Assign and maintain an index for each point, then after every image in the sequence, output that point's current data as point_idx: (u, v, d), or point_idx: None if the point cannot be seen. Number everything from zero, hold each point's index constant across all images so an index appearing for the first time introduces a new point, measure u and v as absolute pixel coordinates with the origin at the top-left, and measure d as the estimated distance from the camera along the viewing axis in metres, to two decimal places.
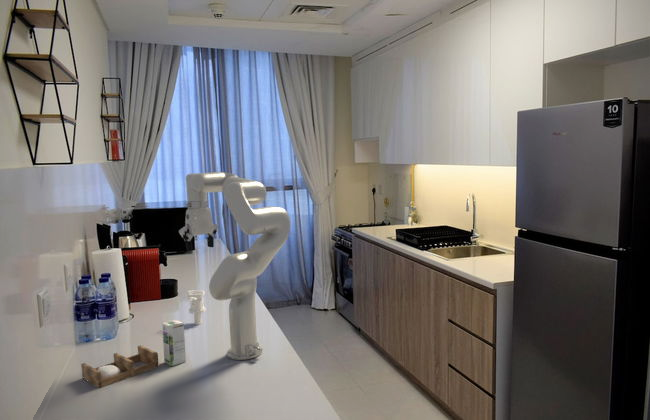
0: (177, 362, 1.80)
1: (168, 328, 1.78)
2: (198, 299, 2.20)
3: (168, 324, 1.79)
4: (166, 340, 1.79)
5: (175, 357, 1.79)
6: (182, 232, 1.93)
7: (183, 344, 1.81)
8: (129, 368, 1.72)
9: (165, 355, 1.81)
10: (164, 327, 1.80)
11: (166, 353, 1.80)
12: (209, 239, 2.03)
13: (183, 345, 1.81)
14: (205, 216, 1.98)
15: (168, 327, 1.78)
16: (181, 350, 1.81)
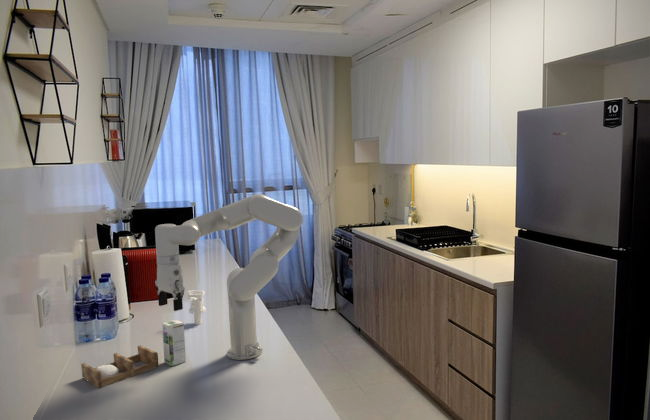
0: (177, 362, 1.80)
1: (168, 328, 1.78)
2: (198, 299, 2.20)
3: (168, 324, 1.79)
4: (166, 340, 1.79)
5: (175, 357, 1.79)
6: None
7: (183, 344, 1.81)
8: (129, 368, 1.72)
9: (165, 355, 1.81)
10: (164, 327, 1.80)
11: (166, 353, 1.80)
12: (163, 296, 1.83)
13: (183, 345, 1.81)
14: None
15: (168, 327, 1.78)
16: (181, 350, 1.81)
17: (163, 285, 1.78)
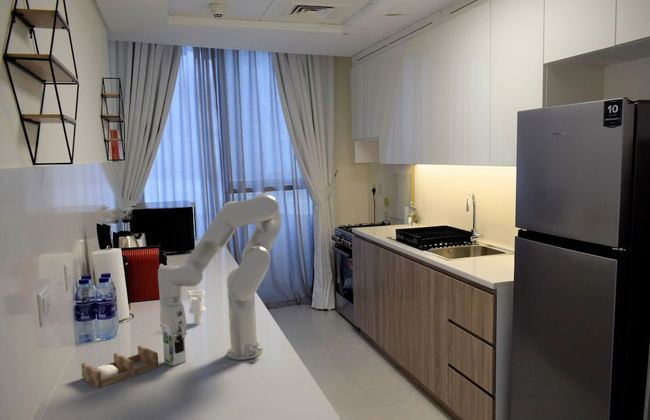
0: (177, 362, 1.80)
1: (168, 328, 1.78)
2: (198, 299, 2.20)
3: None
4: (166, 340, 1.79)
5: (175, 357, 1.79)
6: None
7: None
8: (129, 368, 1.72)
9: (165, 355, 1.81)
10: (164, 327, 1.80)
11: (166, 353, 1.80)
12: None
13: None
14: None
15: (167, 327, 1.78)
16: None
17: None
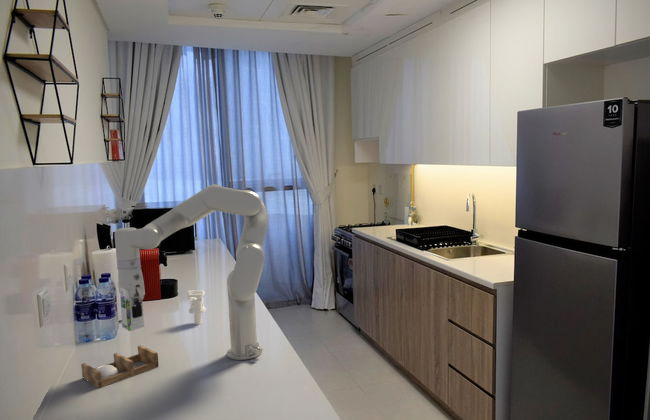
0: (135, 327, 1.75)
1: (125, 292, 1.73)
2: (198, 299, 2.20)
3: None
4: (123, 304, 1.74)
5: (133, 322, 1.74)
6: None
7: None
8: (129, 368, 1.72)
9: (123, 320, 1.76)
10: (121, 291, 1.75)
11: (124, 318, 1.75)
12: None
13: None
14: None
15: (124, 290, 1.73)
16: None
17: None
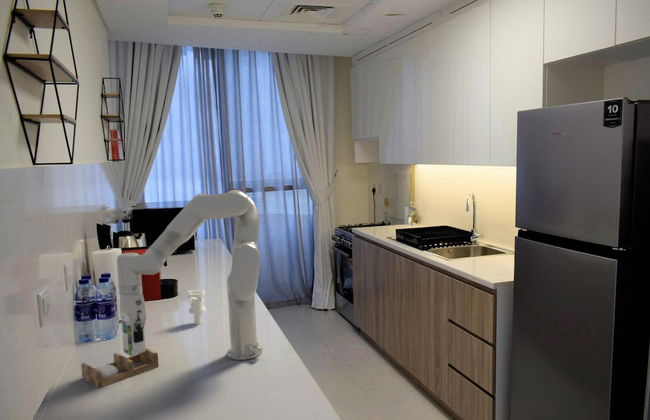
0: (136, 352, 1.76)
1: (126, 317, 1.74)
2: (198, 299, 2.20)
3: None
4: (125, 329, 1.75)
5: (134, 347, 1.75)
6: None
7: None
8: (129, 368, 1.72)
9: (124, 345, 1.77)
10: (123, 316, 1.76)
11: (125, 343, 1.76)
12: None
13: (143, 335, 1.77)
14: None
15: (126, 316, 1.74)
16: None
17: None
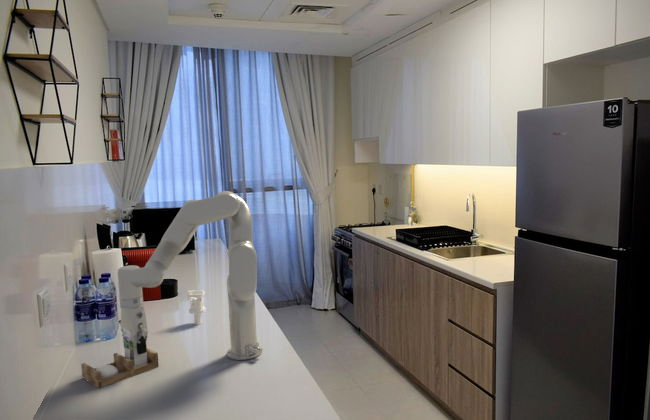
0: None
1: (128, 333, 1.74)
2: (198, 299, 2.20)
3: None
4: (127, 345, 1.76)
5: (136, 362, 1.76)
6: None
7: None
8: (129, 368, 1.72)
9: None
10: (125, 332, 1.77)
11: None
12: None
13: None
14: None
15: (128, 331, 1.75)
16: (143, 354, 1.78)
17: (127, 328, 1.76)
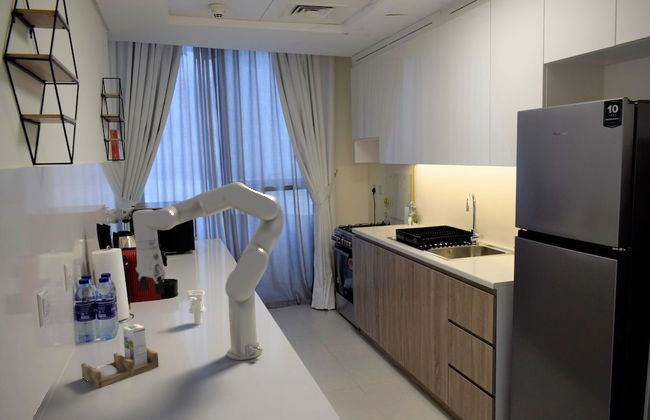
0: None
1: (128, 333, 1.74)
2: (198, 299, 2.20)
3: (129, 328, 1.76)
4: (127, 345, 1.76)
5: (136, 362, 1.76)
6: None
7: (144, 349, 1.78)
8: (129, 368, 1.72)
9: None
10: (125, 332, 1.77)
11: None
12: (144, 282, 1.85)
13: (145, 350, 1.78)
14: None
15: (128, 331, 1.75)
16: (143, 355, 1.78)
17: (143, 270, 1.79)
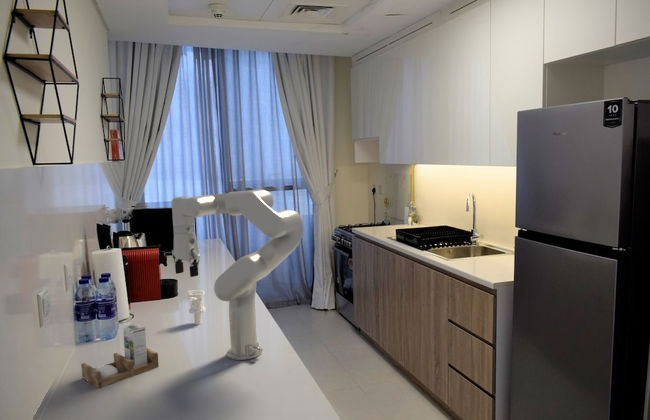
0: None
1: (128, 333, 1.74)
2: (198, 299, 2.20)
3: (129, 328, 1.76)
4: (127, 345, 1.76)
5: (136, 362, 1.76)
6: None
7: (144, 349, 1.78)
8: (129, 368, 1.72)
9: None
10: (125, 332, 1.77)
11: None
12: (180, 265, 1.96)
13: (145, 350, 1.78)
14: None
15: (128, 331, 1.75)
16: (143, 355, 1.78)
17: (180, 253, 1.91)
